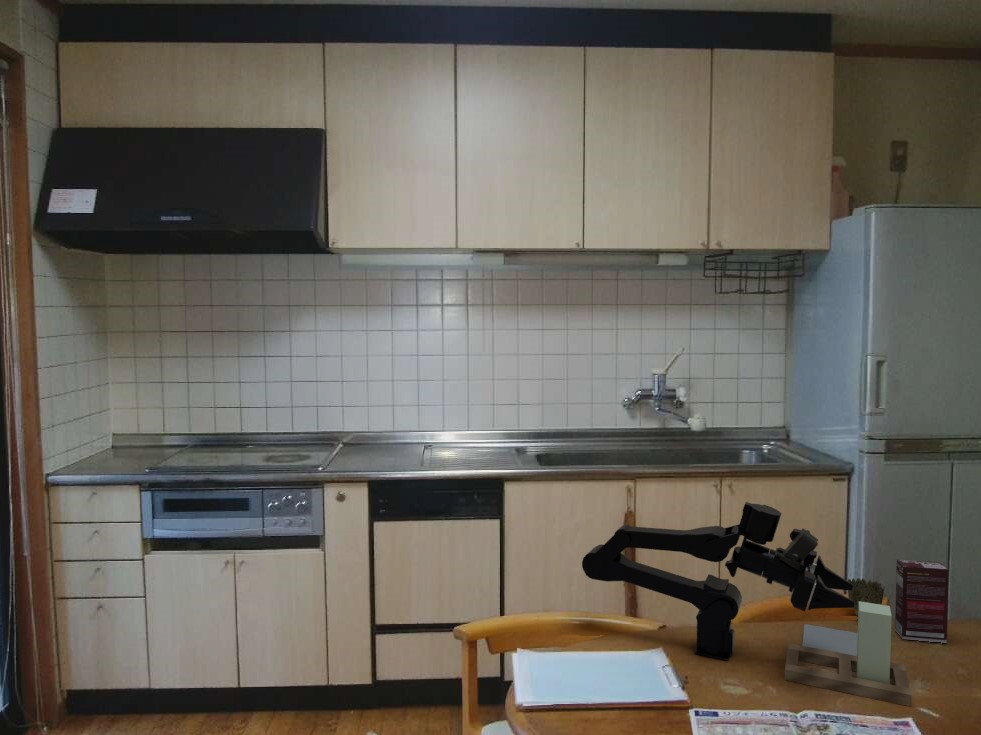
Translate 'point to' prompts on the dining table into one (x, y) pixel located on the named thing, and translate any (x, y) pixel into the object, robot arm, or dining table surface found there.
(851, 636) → the grey mat
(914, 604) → the supplement box
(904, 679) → the puzzle board
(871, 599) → the dark olive textured piece
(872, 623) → the sage block
